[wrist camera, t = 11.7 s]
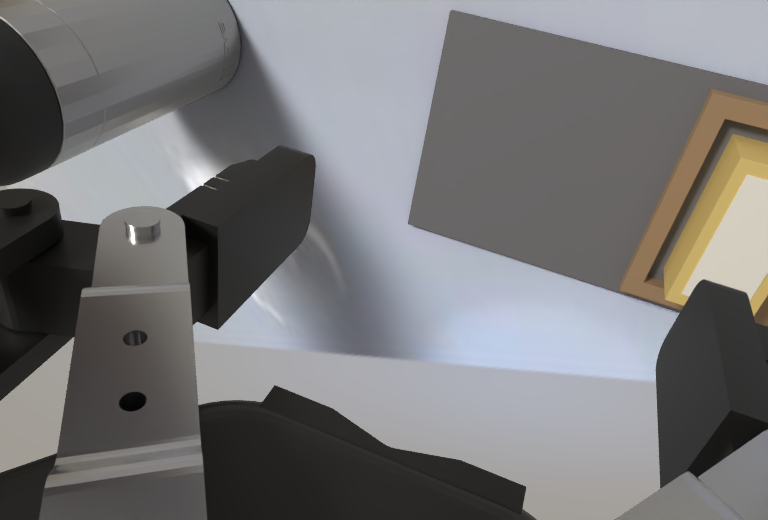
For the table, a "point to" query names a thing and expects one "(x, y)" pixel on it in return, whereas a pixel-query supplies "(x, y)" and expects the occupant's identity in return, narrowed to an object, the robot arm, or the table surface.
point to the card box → (726, 228)
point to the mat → (574, 152)
